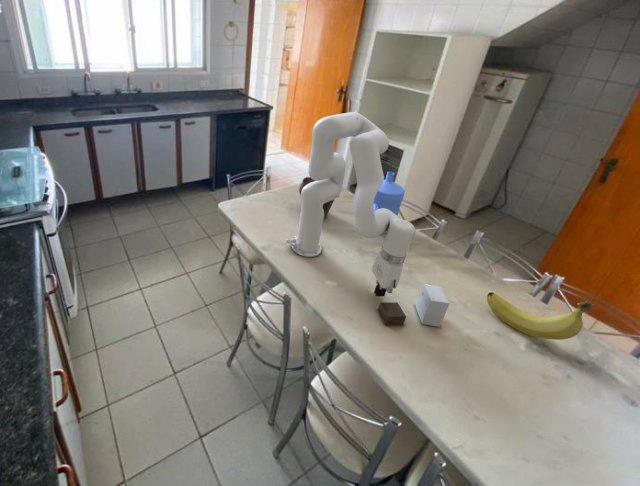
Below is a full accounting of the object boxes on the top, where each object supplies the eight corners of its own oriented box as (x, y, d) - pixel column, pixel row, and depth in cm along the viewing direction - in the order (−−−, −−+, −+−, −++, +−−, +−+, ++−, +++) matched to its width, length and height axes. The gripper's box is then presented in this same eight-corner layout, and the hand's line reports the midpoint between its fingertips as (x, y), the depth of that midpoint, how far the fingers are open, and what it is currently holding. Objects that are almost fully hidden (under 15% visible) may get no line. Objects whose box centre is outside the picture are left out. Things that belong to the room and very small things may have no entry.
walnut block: (385, 325, 107) (388, 316, 105) (377, 310, 112) (380, 302, 110) (403, 325, 107) (406, 316, 105) (394, 310, 113) (397, 302, 111)
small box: (439, 327, 107) (450, 304, 102) (421, 324, 108) (431, 300, 103) (431, 309, 114) (441, 286, 109) (414, 306, 115) (423, 283, 110)
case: (338, 224, 161) (345, 192, 153) (297, 222, 161) (302, 189, 153) (330, 206, 177) (336, 176, 169) (293, 204, 177) (297, 174, 169)
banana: (478, 309, 115) (501, 265, 106) (484, 302, 118) (507, 258, 109) (560, 358, 99) (596, 311, 90) (565, 349, 102) (600, 302, 93)
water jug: (392, 220, 167) (407, 169, 155) (394, 236, 154) (411, 183, 141) (360, 213, 171) (372, 164, 159) (360, 229, 158) (373, 176, 145)
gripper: (373, 240, 115) (361, 279, 124) (392, 269, 102) (377, 311, 110) (393, 241, 116) (380, 280, 124) (415, 270, 102) (398, 311, 111)
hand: (378, 294), depth 117 cm, fingers closed
